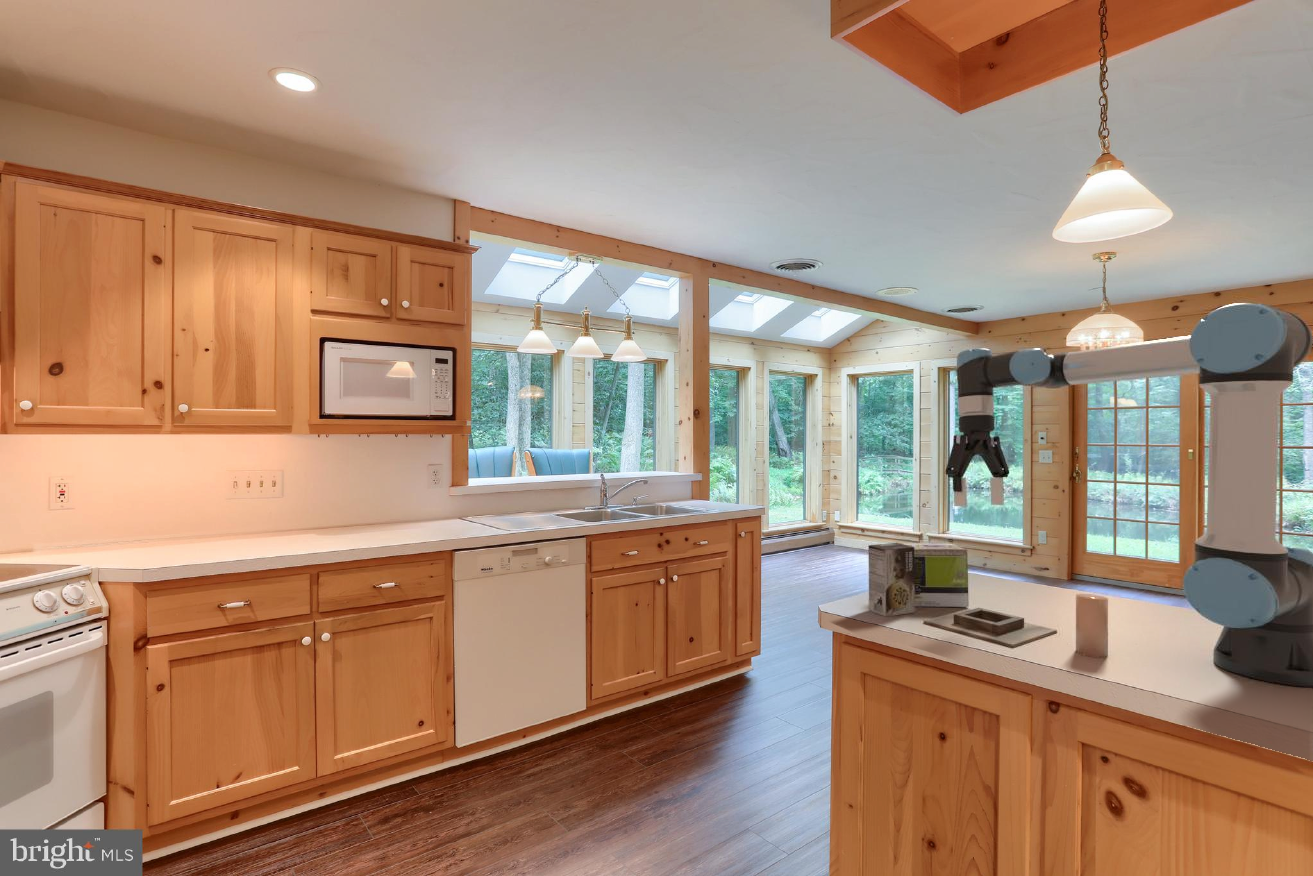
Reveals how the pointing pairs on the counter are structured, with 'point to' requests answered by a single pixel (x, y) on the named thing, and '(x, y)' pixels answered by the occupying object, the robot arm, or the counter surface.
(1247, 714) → the counter surface
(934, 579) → the tea box
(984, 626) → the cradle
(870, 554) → the coffee box
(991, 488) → the robot arm
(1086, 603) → the tall mauve pillar
